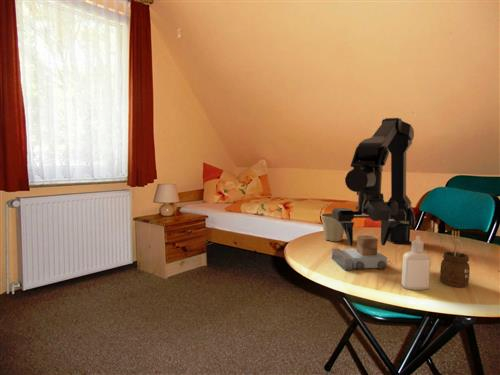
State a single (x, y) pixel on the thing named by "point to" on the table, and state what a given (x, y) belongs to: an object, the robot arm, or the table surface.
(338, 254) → the buffer
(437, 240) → the table surface
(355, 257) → the cart
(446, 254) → the utensil holder
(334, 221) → the flower pot
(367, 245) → the block
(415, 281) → the eye dropper bottle
